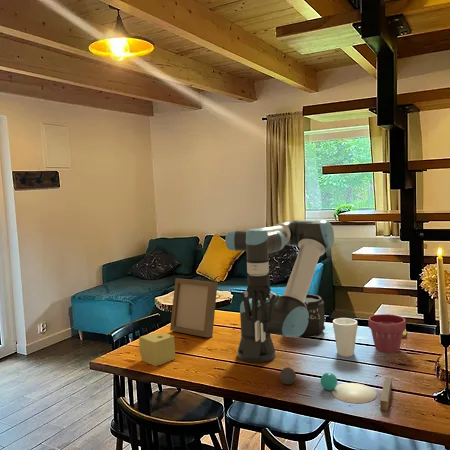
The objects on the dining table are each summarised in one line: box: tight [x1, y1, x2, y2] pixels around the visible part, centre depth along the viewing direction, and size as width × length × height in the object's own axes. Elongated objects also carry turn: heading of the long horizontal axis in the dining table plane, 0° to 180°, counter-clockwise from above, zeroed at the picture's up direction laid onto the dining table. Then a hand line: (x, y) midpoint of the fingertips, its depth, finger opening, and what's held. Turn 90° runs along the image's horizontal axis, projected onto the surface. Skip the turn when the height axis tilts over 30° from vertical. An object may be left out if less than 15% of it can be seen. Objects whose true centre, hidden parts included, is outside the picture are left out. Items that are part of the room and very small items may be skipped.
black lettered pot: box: [298, 293, 326, 338], centre depth 213 cm, size 18×18×16 cm
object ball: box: [320, 372, 338, 391], centre depth 154 cm, size 6×6×6 cm
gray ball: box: [279, 367, 297, 385], centre depth 160 cm, size 6×6×6 cm
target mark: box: [331, 382, 378, 404], centre depth 151 cm, size 14×14×1 cm
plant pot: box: [368, 313, 407, 354], centre depth 187 cm, size 14×14×13 cm
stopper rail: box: [379, 376, 393, 412], centre depth 147 cm, size 2×18×3 cm, turn 157°
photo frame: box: [169, 277, 218, 338], centre depth 220 cm, size 15×22×25 cm
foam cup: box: [332, 317, 358, 357], centre depth 185 cm, size 10×9×13 cm
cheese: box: [138, 332, 176, 367], centre depth 186 cm, size 10×11×10 cm
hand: (260, 340), depth 162 cm, fingers closed
